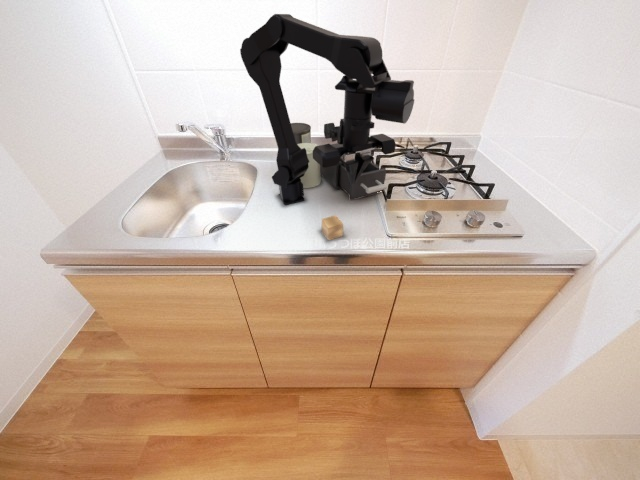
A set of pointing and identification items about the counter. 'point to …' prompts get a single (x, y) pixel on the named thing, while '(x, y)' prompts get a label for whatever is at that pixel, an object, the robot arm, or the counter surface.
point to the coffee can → (301, 132)
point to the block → (332, 227)
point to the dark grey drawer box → (332, 171)
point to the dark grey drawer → (363, 181)
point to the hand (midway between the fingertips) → (352, 183)
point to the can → (310, 167)
